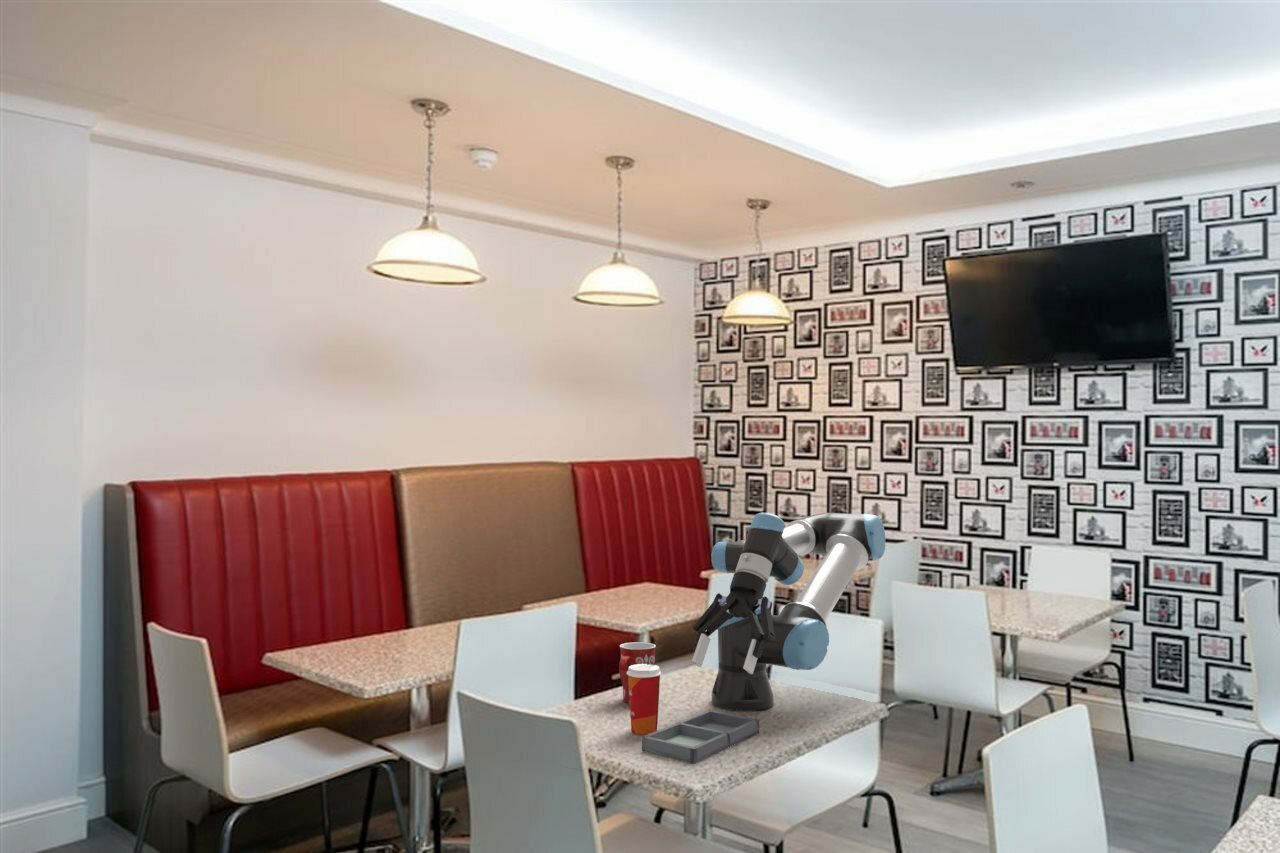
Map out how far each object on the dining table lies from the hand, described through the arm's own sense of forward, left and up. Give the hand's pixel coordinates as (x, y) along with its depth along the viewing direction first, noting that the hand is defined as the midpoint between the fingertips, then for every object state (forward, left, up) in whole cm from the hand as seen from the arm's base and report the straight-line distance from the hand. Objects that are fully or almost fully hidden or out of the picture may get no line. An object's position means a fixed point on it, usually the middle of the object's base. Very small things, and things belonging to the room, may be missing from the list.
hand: (721, 667), depth 187 cm
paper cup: (+4, -18, -16) cm, 24 cm away
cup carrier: (+2, -4, -16) cm, 16 cm away
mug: (-14, -35, -16) cm, 41 cm away
